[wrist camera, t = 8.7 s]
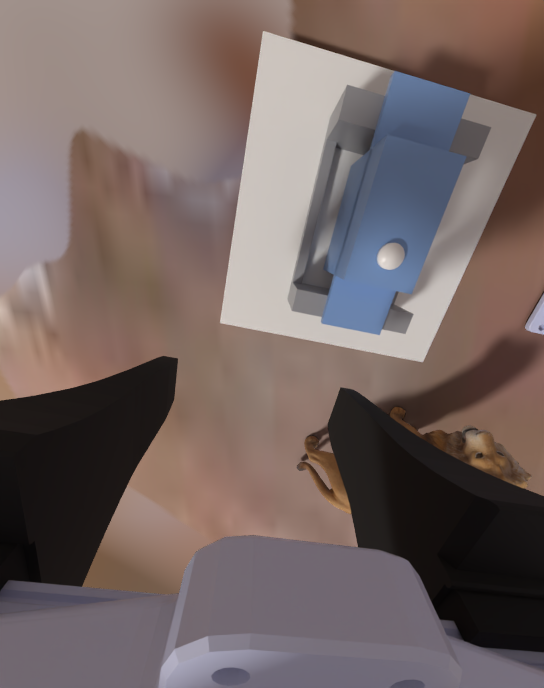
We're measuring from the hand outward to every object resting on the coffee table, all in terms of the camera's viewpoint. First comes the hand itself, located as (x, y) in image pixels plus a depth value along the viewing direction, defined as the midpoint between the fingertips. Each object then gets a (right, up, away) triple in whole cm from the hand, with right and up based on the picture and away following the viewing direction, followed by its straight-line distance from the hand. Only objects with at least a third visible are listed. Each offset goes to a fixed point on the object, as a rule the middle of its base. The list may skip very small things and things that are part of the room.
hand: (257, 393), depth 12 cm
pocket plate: (+6, +10, +6) cm, 13 cm away
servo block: (+6, +10, +5) cm, 13 cm away
